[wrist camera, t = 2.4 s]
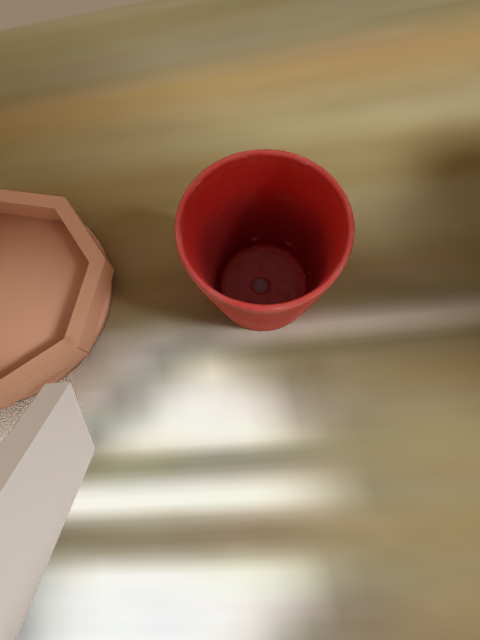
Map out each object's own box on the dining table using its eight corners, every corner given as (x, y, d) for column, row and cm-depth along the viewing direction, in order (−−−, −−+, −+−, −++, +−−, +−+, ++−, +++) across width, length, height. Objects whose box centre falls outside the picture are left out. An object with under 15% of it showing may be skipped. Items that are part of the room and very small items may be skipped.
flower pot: (194, 350, 29) (164, 309, 20) (202, 230, 33) (181, 148, 24) (329, 353, 29) (362, 311, 20) (323, 230, 32) (349, 145, 23)
